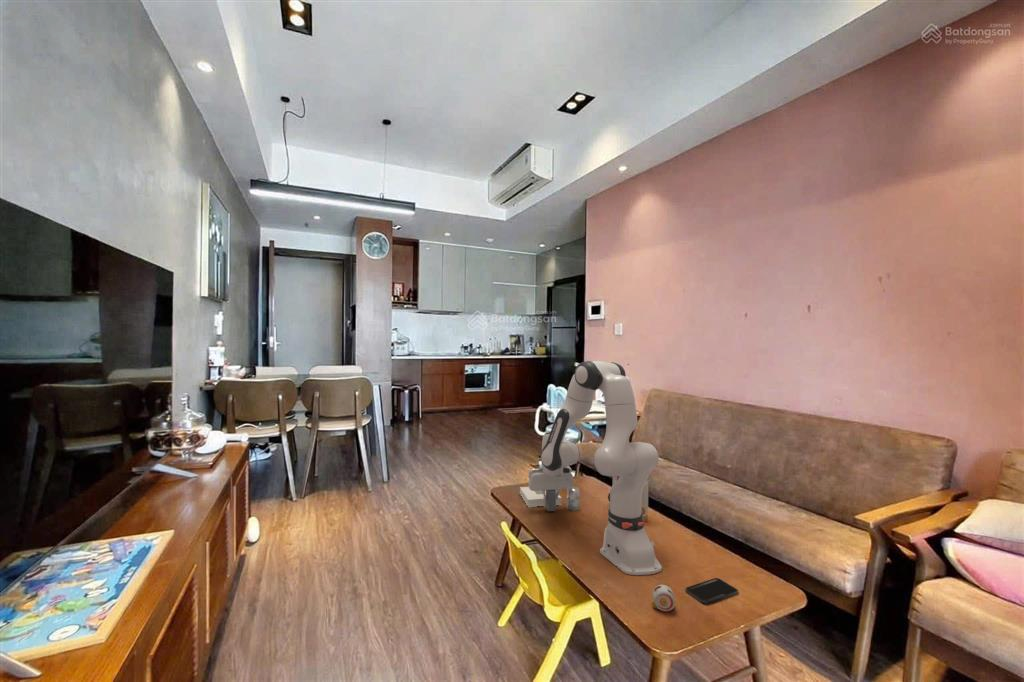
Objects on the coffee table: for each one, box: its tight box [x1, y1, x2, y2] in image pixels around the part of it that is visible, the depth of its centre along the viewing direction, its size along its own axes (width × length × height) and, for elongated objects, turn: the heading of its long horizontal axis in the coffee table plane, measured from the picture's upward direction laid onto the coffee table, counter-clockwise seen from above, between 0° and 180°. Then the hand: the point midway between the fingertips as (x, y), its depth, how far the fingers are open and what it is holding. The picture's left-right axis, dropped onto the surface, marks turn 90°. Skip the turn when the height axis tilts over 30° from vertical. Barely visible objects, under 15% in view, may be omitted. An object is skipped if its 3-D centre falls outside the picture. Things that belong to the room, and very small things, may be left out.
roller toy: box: [651, 584, 676, 612], centre depth 116 cm, size 4×6×6 cm
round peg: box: [566, 486, 580, 512], centre depth 184 cm, size 6×6×9 cm
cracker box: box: [612, 476, 649, 522], centre depth 174 cm, size 14×6×21 cm, turn 97°
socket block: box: [519, 486, 563, 508], centre depth 194 cm, size 16×16×4 cm
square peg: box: [545, 490, 557, 512], centre depth 181 cm, size 4×4×9 cm
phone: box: [685, 577, 739, 606], centre depth 124 cm, size 8×1×15 cm
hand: (550, 499), depth 181 cm, fingers closed on square peg, 3 cm apart
